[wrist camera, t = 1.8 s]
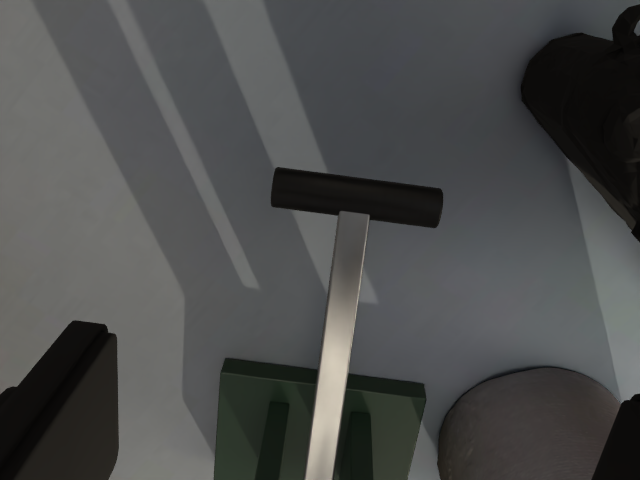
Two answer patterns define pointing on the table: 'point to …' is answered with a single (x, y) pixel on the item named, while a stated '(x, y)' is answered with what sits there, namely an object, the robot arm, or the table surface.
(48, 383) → the robot arm
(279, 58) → the table surface
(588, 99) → the film camera
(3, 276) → the table surface
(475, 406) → the pillar candle
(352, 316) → the lever
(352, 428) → the bracket
